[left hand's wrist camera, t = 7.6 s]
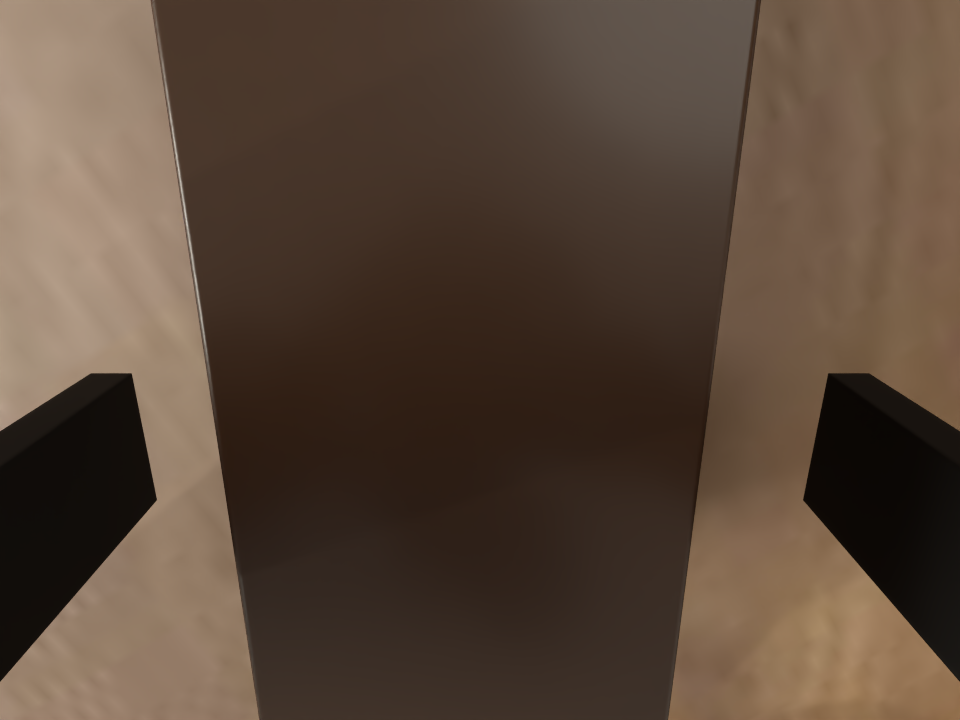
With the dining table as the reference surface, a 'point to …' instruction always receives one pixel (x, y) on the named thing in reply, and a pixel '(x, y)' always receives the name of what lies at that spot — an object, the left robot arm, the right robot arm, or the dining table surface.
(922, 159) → the dining table surface
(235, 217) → the beam
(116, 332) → the dining table surface
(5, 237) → the dining table surface
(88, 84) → the dining table surface
